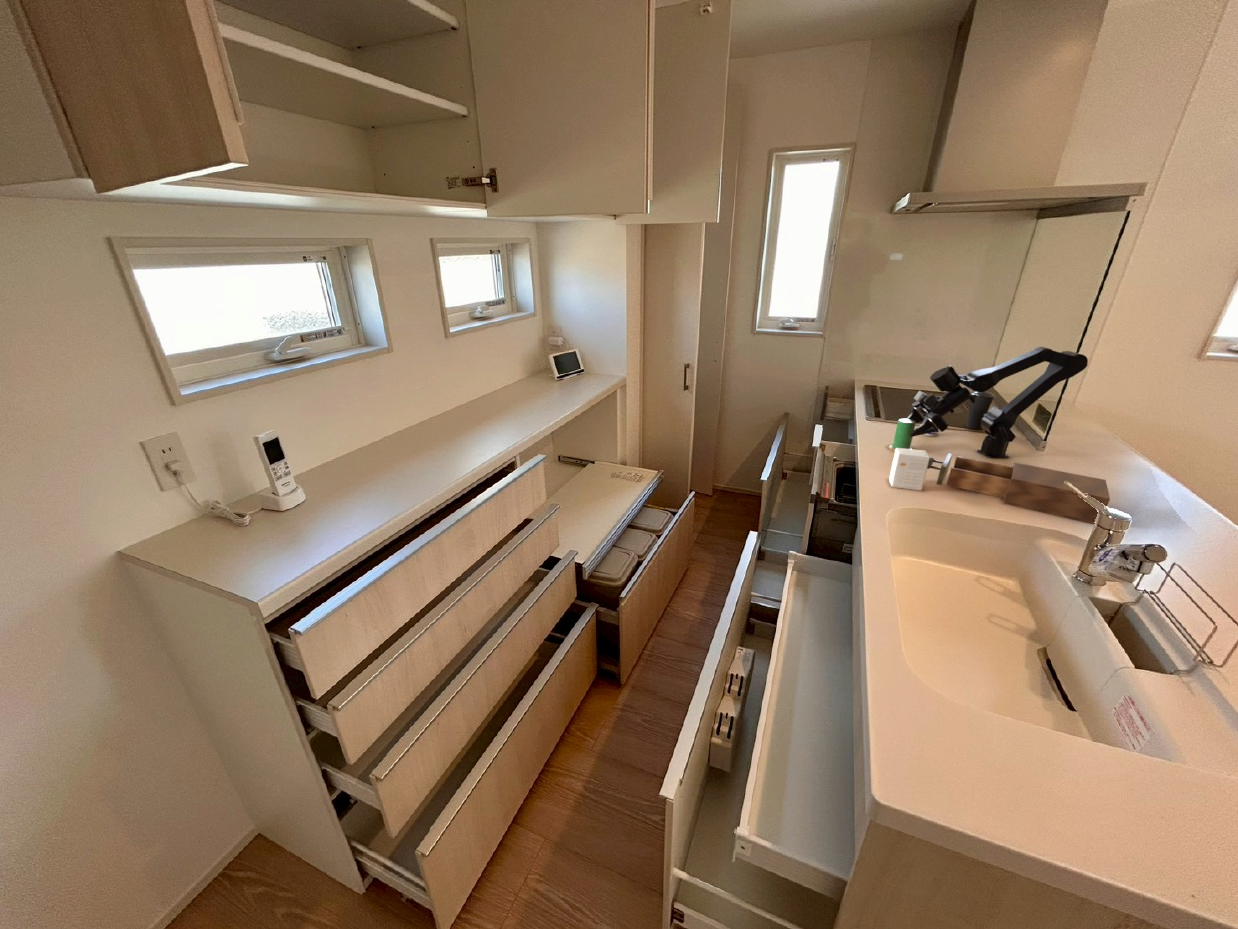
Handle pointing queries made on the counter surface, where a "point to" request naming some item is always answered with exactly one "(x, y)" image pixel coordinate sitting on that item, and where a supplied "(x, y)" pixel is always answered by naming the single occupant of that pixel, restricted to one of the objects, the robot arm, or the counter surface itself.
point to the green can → (904, 433)
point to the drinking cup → (979, 409)
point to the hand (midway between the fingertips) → (906, 431)
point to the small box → (909, 468)
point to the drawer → (975, 475)
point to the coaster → (892, 448)
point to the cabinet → (1055, 492)
